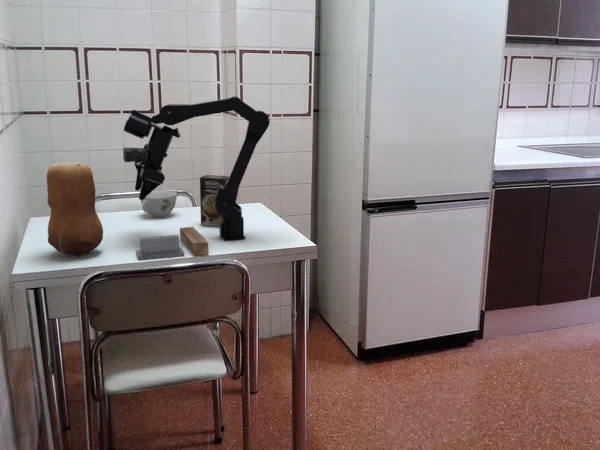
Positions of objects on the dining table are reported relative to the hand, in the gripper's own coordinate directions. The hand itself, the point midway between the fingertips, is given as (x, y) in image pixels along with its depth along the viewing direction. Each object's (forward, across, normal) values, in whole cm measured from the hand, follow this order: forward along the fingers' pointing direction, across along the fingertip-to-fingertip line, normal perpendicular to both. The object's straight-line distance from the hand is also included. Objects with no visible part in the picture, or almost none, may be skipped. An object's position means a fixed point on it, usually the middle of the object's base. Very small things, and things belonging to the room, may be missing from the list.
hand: (138, 194), depth 168 cm
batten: (+6, +16, +16) cm, 23 cm away
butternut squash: (+18, +12, -12) cm, 25 cm away
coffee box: (+4, -8, +29) cm, 30 cm away
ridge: (+9, +20, +7) cm, 23 cm away
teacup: (+12, -26, +15) cm, 32 cm away
